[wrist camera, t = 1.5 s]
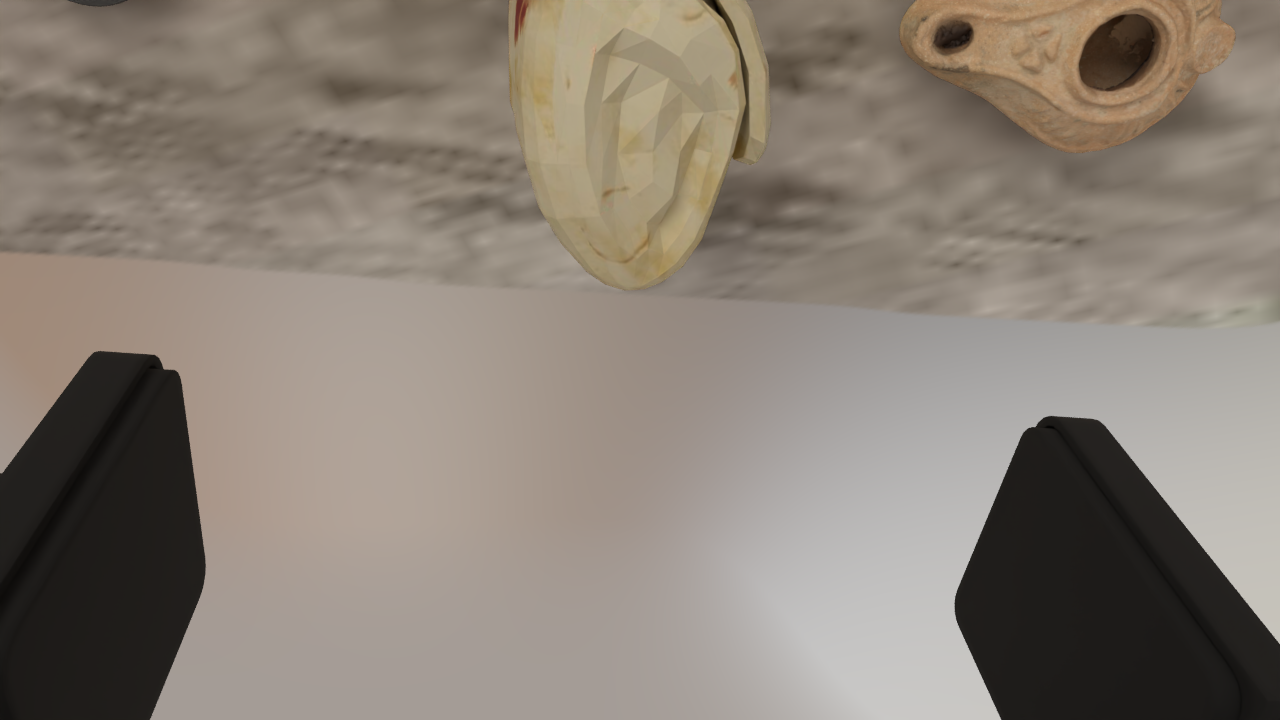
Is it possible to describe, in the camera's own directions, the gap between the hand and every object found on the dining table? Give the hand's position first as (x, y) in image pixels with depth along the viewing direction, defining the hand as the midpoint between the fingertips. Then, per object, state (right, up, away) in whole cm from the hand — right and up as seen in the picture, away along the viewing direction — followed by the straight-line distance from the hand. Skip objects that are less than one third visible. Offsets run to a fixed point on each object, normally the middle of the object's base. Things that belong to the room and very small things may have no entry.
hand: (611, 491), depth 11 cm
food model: (-1, +17, +27) cm, 32 cm away
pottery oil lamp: (+17, +16, +30) cm, 38 cm away
